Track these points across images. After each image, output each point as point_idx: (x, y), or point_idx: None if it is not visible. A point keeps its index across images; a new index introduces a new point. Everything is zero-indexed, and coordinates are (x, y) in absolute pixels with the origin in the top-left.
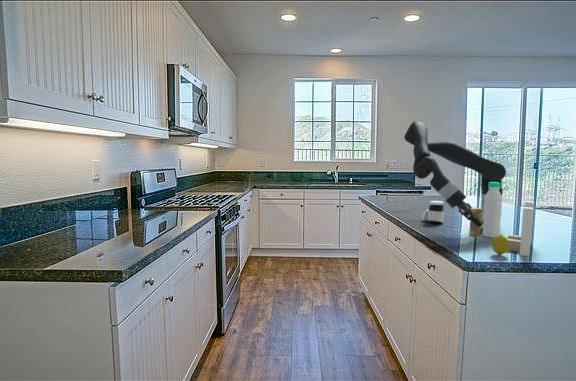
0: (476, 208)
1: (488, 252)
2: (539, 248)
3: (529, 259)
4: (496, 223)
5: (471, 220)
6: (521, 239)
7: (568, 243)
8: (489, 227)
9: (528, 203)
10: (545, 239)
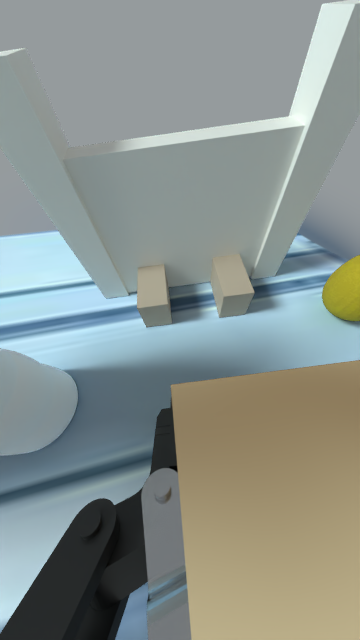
0: (334, 510)
1: (336, 345)
2: None
3: (295, 255)
4: (21, 361)
5: None
6: (296, 232)
7: (55, 233)
8: (44, 401)
9: (21, 70)
10: (27, 267)
